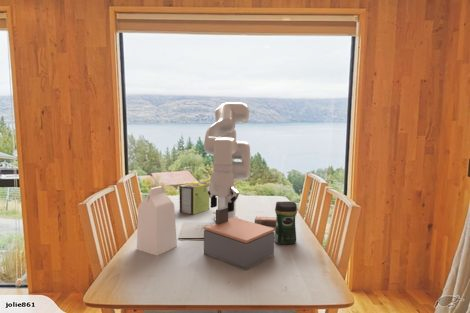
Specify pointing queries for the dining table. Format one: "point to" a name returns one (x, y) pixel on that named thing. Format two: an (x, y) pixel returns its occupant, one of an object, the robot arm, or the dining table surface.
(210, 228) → the lid
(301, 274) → the dining table surface
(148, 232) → the milk
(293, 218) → the coffee jar
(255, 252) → the carton
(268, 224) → the packaged product
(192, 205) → the protein box
